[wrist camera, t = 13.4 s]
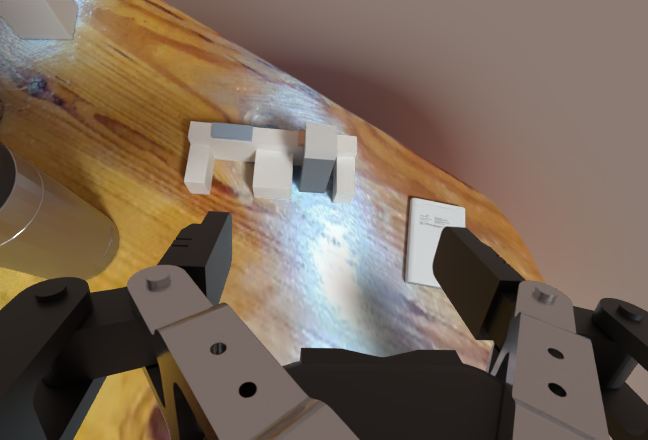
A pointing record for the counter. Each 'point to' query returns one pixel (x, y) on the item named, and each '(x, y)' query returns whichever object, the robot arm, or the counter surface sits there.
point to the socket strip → (262, 158)
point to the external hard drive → (427, 237)
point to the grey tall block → (317, 157)
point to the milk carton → (40, 18)
